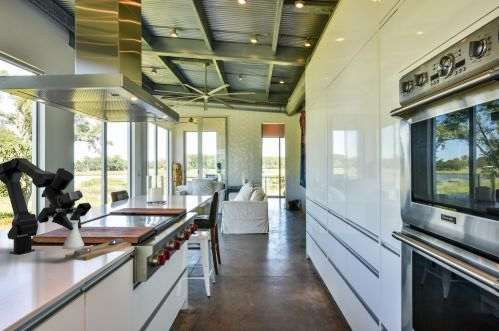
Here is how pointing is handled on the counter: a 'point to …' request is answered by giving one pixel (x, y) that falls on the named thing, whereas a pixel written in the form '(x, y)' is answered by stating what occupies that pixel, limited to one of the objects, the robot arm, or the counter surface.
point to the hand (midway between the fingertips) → (76, 228)
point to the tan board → (98, 251)
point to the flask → (73, 238)
